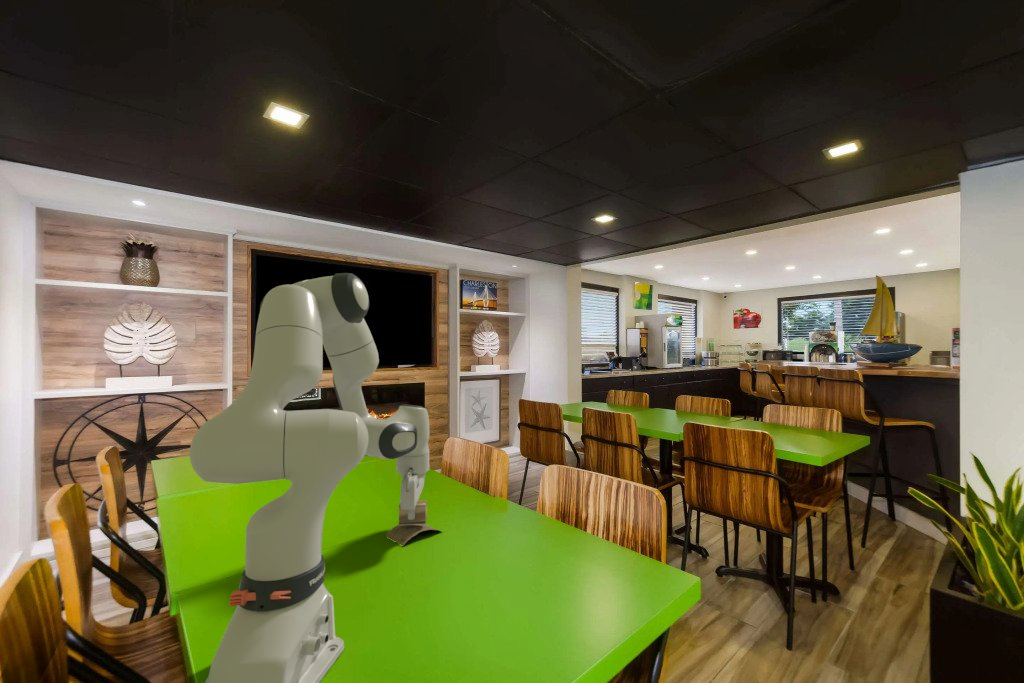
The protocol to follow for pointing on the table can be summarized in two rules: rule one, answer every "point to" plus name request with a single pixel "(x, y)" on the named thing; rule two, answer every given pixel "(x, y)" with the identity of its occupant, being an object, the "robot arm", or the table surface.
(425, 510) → the block
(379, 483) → the table surface
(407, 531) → the clay tablet
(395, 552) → the table surface
